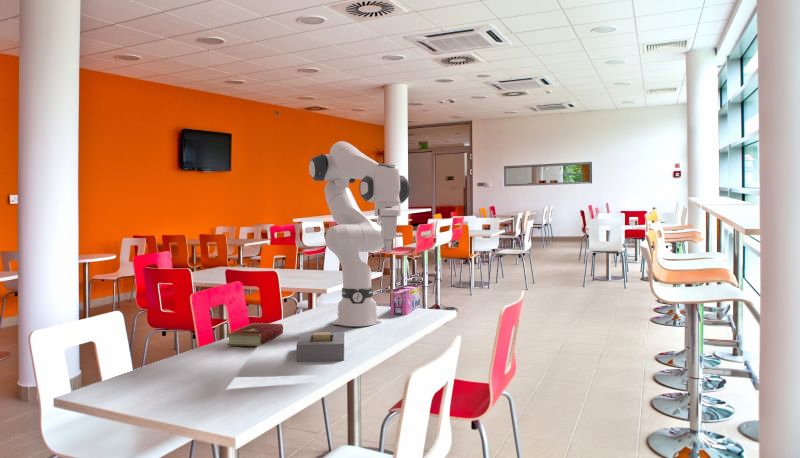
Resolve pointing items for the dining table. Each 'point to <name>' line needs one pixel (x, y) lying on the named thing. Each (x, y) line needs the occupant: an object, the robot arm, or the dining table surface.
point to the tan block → (321, 337)
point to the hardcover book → (254, 334)
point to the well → (320, 348)
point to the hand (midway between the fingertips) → (387, 251)
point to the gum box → (405, 299)
